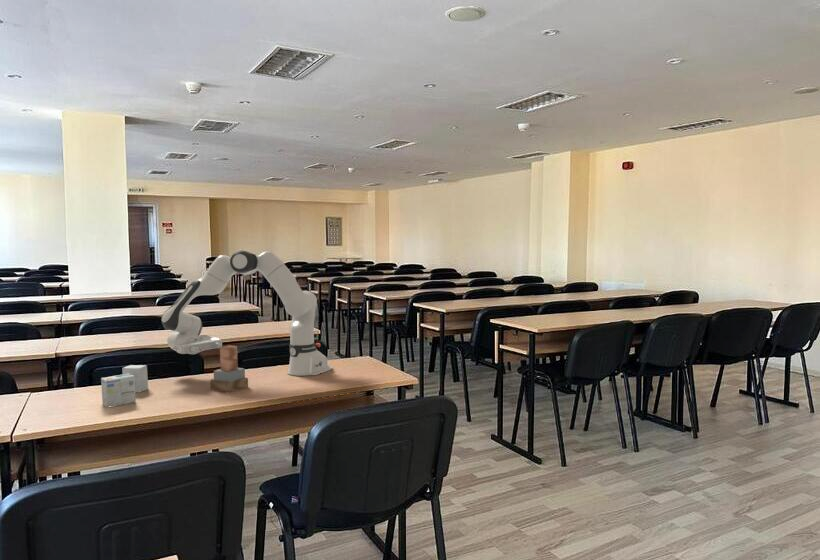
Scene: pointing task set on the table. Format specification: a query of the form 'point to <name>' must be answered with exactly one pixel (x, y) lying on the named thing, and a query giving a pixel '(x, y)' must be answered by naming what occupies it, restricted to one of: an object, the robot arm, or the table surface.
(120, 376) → the light bulb box
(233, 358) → the terracotta block
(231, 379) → the grey top block
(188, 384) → the table surface
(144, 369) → the small box
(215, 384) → the walnut base block
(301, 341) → the robot arm
